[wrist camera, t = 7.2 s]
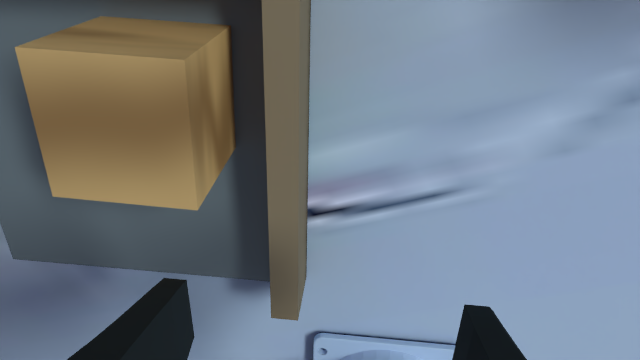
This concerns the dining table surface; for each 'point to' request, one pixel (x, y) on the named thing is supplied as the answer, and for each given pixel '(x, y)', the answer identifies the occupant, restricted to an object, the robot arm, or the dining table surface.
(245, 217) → the arena
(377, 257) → the dining table surface
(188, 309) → the robot arm
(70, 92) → the block
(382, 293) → the dining table surface
